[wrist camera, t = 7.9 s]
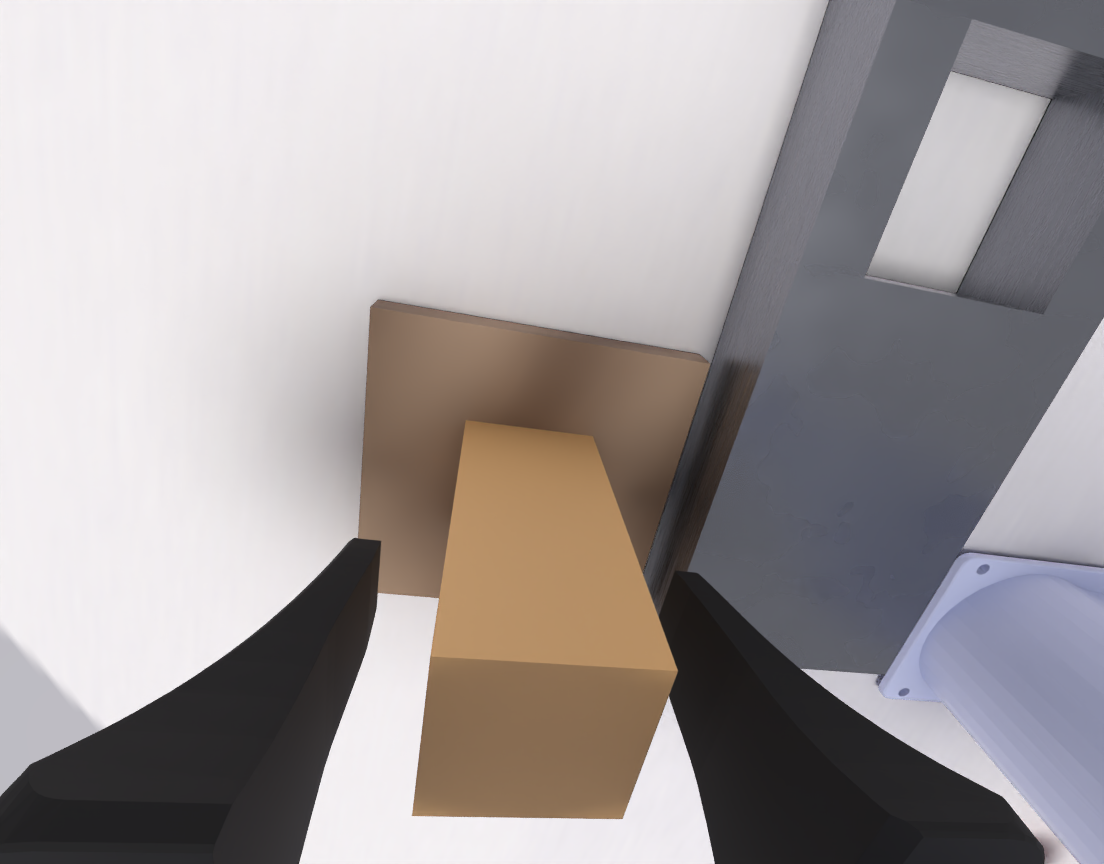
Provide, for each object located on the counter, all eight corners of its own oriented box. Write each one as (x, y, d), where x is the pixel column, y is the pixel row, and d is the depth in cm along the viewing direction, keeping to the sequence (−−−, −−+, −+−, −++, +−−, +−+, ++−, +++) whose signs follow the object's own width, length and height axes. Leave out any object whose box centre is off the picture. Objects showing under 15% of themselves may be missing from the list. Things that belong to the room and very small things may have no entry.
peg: (592, 436, 17) (678, 670, 9) (569, 539, 18) (622, 818, 10) (465, 420, 16) (430, 656, 8) (452, 528, 18) (411, 816, 10)
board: (699, 354, 17) (710, 363, 16) (623, 595, 21) (629, 614, 20) (377, 299, 16) (370, 307, 15) (362, 571, 20) (355, 590, 19)
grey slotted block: (1182, -31, 14) (1349, -85, 11) (838, 615, 23) (884, 674, 20) (874, -137, 12) (979, -227, 10) (635, 597, 21) (655, 657, 18)
